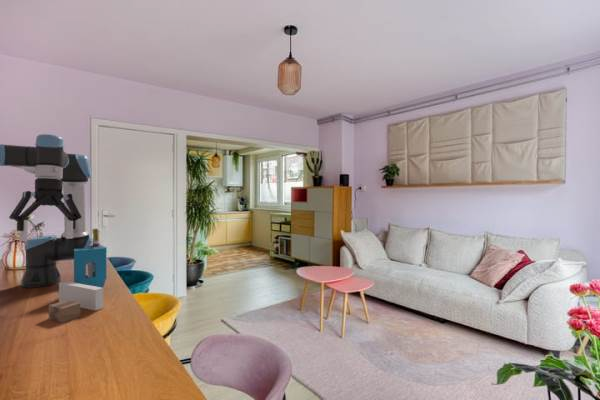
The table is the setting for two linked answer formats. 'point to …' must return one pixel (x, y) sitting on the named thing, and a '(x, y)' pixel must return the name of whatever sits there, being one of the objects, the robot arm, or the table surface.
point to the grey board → (82, 295)
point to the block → (83, 258)
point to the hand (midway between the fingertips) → (47, 240)
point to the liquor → (95, 244)
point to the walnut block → (64, 311)
